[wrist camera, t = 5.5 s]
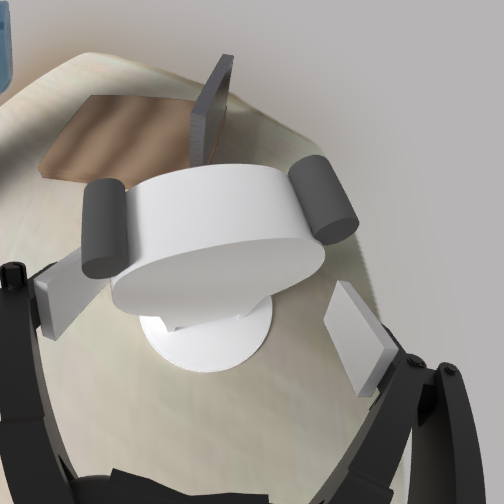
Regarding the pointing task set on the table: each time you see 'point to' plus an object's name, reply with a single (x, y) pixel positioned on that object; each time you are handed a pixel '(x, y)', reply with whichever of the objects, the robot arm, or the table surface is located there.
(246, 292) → the panda figurine
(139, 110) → the shelf board
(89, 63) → the table surface
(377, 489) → the robot arm
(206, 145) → the bookend
